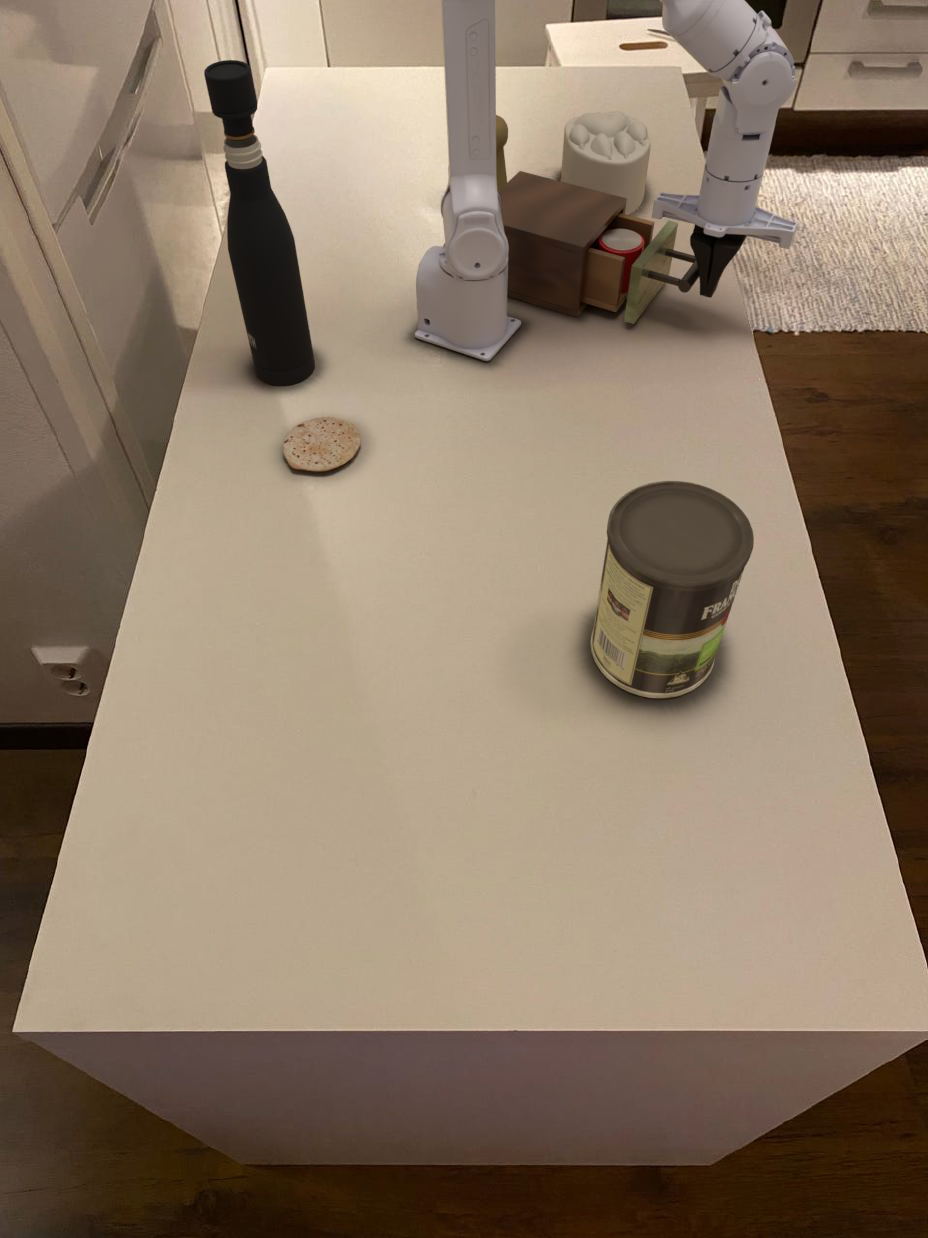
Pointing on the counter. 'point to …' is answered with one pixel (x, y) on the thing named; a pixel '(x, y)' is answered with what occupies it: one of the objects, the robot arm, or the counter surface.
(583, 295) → the drawer
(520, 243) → the cabinet
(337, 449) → the flatbread
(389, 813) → the counter surface
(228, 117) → the black bottle
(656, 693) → the coffee can
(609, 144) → the lumpy-topped squat cylinder
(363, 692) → the counter surface
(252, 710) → the counter surface
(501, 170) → the cork
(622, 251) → the can
